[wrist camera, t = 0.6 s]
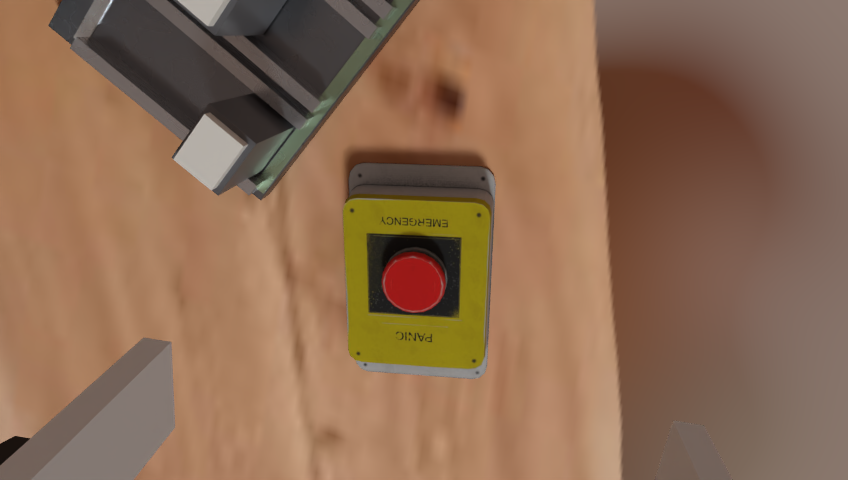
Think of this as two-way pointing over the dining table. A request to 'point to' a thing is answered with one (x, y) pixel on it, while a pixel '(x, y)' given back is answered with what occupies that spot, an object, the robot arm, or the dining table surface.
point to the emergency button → (419, 268)
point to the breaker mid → (233, 15)
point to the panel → (233, 61)
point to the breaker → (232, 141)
